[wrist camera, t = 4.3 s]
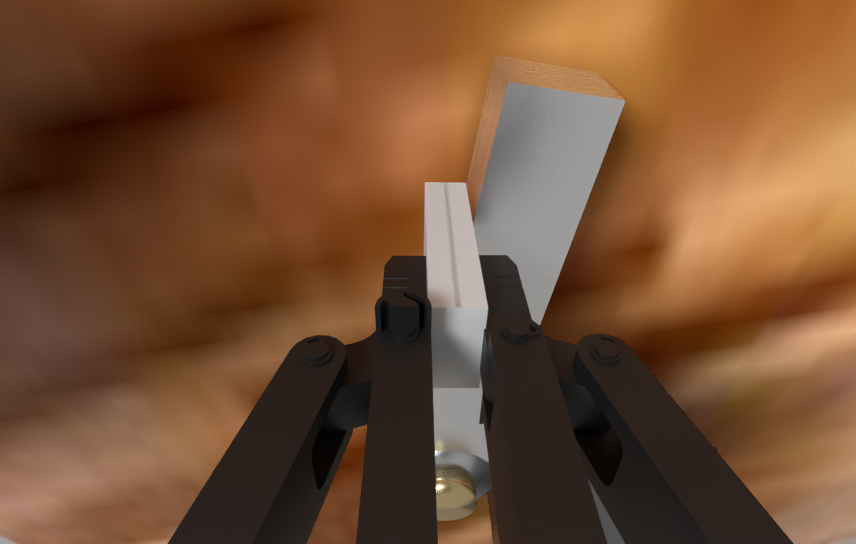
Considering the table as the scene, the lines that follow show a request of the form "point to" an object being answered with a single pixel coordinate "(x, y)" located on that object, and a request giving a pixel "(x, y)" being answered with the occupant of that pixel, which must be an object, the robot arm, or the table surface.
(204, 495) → the robot arm
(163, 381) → the table surface
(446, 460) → the link
